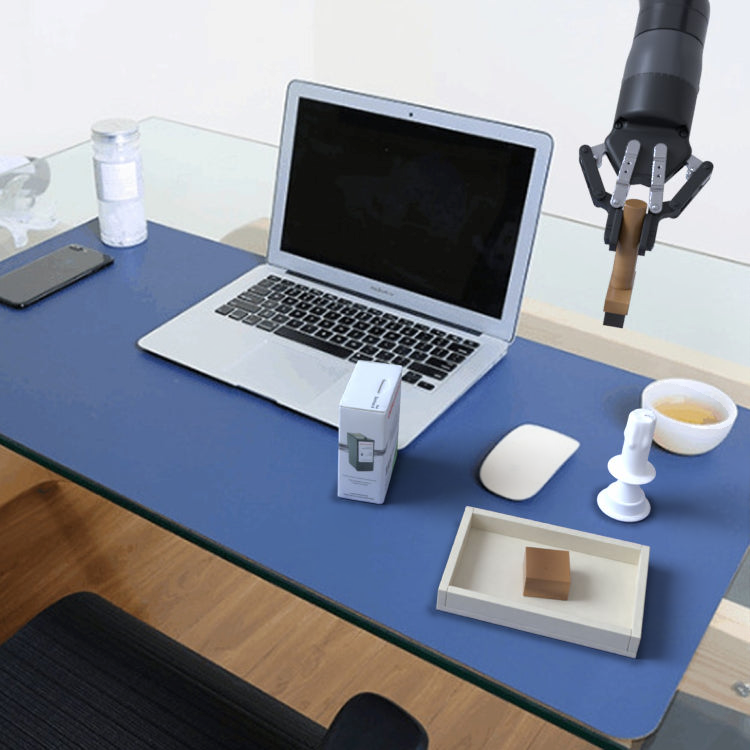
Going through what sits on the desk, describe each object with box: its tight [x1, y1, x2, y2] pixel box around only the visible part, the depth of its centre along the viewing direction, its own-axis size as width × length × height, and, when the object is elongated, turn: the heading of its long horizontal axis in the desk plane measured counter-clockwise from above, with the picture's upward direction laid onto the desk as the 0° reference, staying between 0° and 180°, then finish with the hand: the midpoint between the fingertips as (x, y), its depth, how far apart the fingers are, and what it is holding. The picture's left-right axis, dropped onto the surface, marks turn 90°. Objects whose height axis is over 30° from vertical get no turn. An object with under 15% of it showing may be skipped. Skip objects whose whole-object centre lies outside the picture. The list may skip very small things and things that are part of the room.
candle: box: [596, 408, 657, 523], centre depth 99 cm, size 5×5×12 cm
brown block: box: [523, 547, 571, 601], centre depth 91 cm, size 4×4×2 cm
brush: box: [602, 198, 649, 329], centre depth 100 cm, size 2×7×12 cm, turn 163°
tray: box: [435, 505, 651, 659], centre depth 92 cm, size 18×12×3 cm, turn 73°
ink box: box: [337, 359, 403, 505], centre depth 101 cm, size 9×5×12 cm, turn 168°
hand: (627, 250), depth 98 cm, fingers closed on brush, 2 cm apart
